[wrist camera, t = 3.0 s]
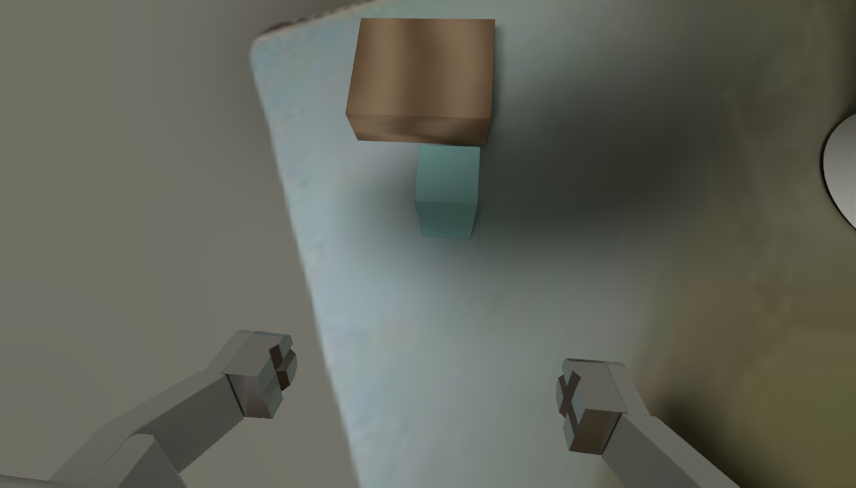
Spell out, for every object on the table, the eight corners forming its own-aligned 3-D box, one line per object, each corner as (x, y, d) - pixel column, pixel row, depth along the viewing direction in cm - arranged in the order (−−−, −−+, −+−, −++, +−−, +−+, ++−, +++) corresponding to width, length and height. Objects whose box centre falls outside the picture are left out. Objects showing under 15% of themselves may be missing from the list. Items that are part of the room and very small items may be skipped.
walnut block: (489, 55, 34) (495, 19, 30) (486, 145, 31) (491, 118, 28) (371, 53, 35) (361, 18, 31) (357, 140, 32) (345, 113, 28)
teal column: (472, 195, 30) (480, 146, 22) (470, 238, 29) (477, 203, 21) (427, 193, 31) (419, 144, 23) (423, 236, 29) (414, 200, 22)
